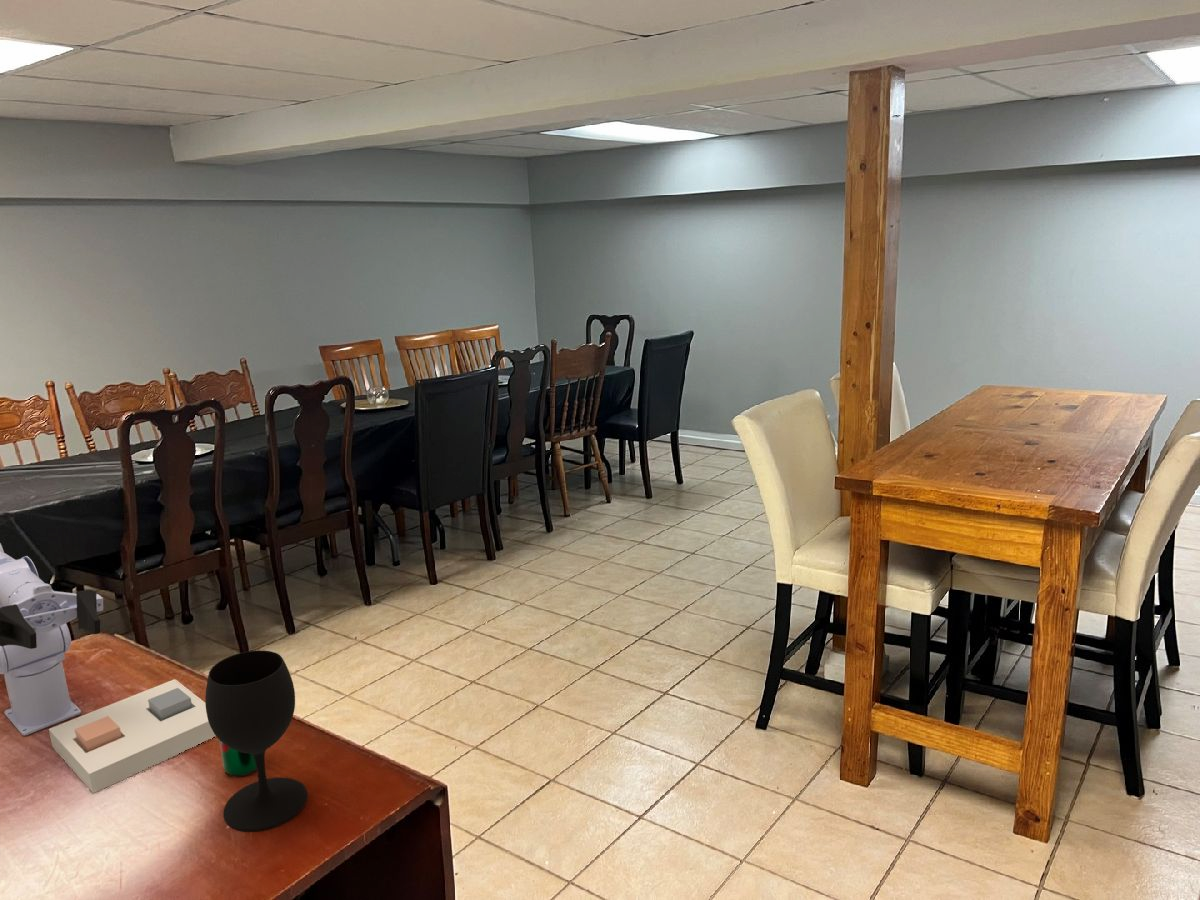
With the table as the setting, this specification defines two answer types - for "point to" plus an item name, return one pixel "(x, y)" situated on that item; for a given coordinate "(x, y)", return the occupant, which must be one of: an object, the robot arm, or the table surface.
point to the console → (132, 737)
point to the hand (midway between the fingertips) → (66, 634)
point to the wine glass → (255, 733)
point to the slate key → (169, 704)
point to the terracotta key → (98, 734)
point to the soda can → (237, 761)
